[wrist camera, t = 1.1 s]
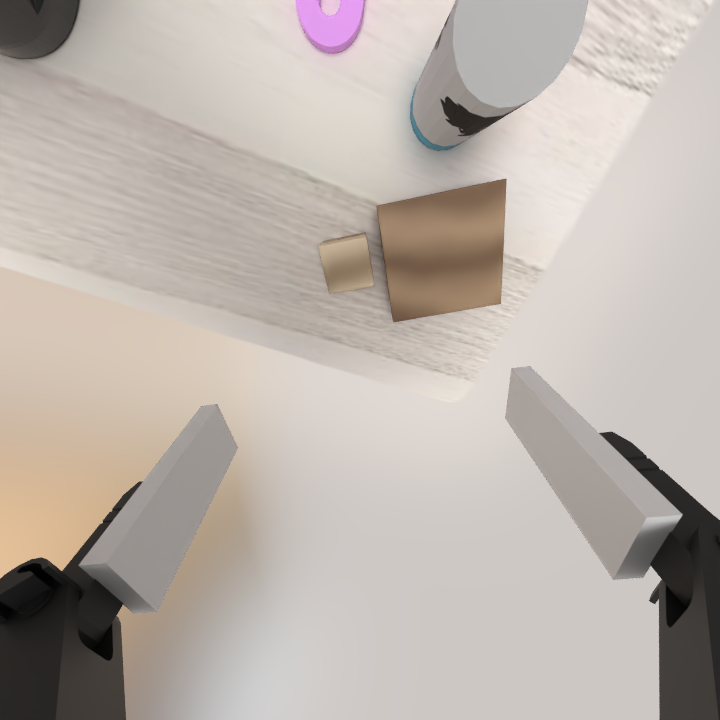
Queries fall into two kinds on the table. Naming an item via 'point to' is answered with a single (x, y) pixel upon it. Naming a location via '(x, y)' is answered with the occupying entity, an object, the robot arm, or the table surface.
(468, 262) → the stand
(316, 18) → the bracket
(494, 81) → the printed can
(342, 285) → the oak block
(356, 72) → the table surface
